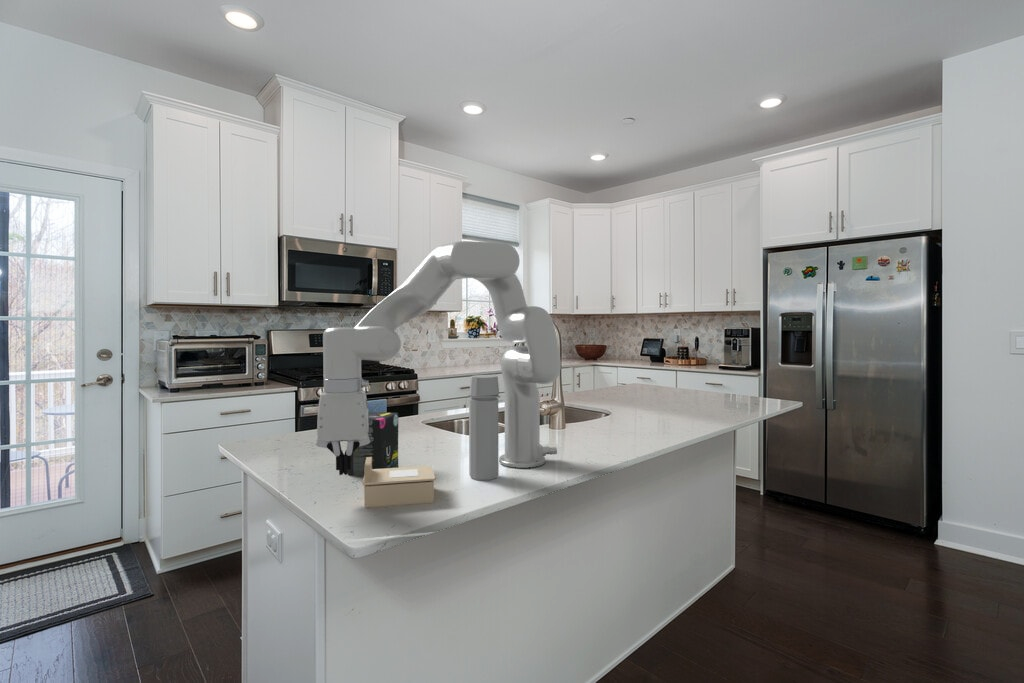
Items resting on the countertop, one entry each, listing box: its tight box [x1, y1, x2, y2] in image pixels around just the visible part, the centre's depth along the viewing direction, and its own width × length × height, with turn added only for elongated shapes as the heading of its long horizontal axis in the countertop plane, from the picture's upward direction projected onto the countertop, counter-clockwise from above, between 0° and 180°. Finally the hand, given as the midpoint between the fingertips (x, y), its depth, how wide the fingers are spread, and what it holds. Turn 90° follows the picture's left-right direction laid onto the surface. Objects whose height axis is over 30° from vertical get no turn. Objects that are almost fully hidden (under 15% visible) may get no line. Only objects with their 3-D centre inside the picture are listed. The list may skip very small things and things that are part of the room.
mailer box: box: [363, 480, 435, 509], centre depth 111 cm, size 14×10×5 cm
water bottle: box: [467, 374, 501, 482], centre depth 126 cm, size 9×8×25 cm
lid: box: [362, 457, 436, 486], centre depth 111 cm, size 15×10×3 cm
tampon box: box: [346, 411, 399, 477], centre depth 131 cm, size 11×9×15 cm
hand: (343, 472), depth 108 cm, fingers closed
